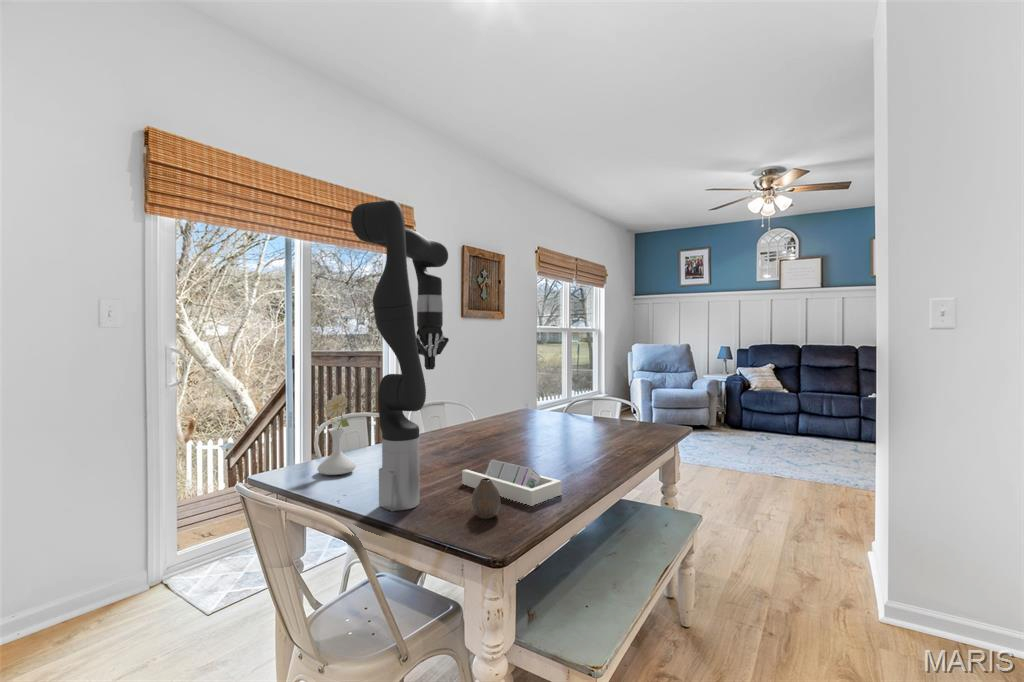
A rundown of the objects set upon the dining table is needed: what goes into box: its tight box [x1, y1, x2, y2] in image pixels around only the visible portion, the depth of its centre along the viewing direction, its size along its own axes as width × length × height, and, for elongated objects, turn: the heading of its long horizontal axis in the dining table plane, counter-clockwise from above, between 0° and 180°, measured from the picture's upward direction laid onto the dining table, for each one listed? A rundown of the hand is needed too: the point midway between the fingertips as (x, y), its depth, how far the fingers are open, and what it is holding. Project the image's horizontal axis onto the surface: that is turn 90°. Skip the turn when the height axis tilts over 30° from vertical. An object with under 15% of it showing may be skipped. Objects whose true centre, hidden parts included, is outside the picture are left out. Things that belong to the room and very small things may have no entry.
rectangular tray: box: [461, 462, 563, 507], centre depth 138 cm, size 12×27×4 cm, turn 46°
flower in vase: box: [317, 393, 357, 476], centre depth 153 cm, size 13×11×25 cm
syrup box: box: [484, 459, 542, 488], centre depth 137 cm, size 6×6×14 cm
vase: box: [471, 478, 501, 520], centre depth 118 cm, size 7×7×9 cm
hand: (429, 369), depth 146 cm, fingers closed
